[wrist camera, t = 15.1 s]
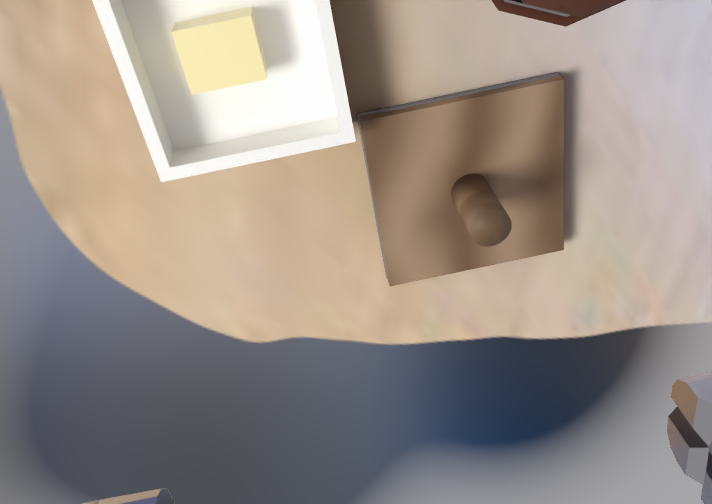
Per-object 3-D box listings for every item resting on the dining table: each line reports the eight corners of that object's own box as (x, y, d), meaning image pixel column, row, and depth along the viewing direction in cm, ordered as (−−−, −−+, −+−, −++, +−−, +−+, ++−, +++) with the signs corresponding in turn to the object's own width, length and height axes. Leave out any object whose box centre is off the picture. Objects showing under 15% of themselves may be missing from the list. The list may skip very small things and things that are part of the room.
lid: (559, 75, 42) (597, 107, 37) (559, 244, 49) (591, 289, 44) (358, 117, 42) (370, 155, 37) (388, 280, 49) (401, 329, 44)
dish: (311, -82, 36) (315, -75, 34) (350, 122, 43) (355, 141, 40) (95, -37, 36) (82, -27, 33) (167, 160, 43) (161, 182, 40)
